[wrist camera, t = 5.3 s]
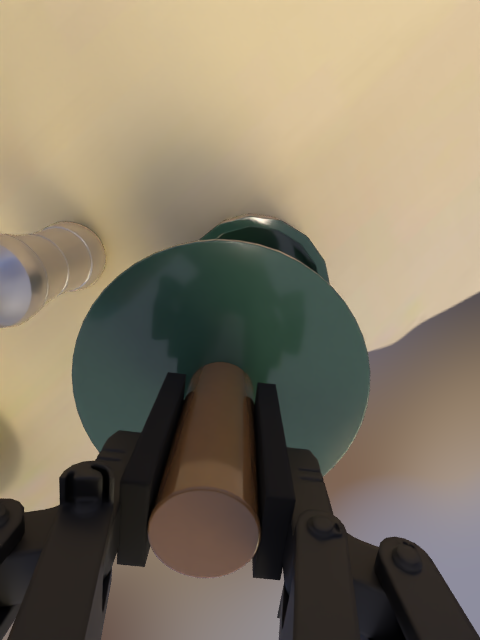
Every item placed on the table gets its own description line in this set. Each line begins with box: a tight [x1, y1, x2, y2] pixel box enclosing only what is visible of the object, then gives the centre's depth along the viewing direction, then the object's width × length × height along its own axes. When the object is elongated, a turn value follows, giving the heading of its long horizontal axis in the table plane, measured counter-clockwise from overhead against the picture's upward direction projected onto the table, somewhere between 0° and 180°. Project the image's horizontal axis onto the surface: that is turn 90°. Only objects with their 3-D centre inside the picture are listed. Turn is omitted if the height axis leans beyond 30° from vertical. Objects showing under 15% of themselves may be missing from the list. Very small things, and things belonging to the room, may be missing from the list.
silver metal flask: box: [0, 222, 106, 328], centre depth 31 cm, size 6×7×20 cm
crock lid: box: [72, 239, 370, 578], centre depth 15 cm, size 14×14×9 cm
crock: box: [200, 213, 330, 284], centre depth 37 cm, size 13×13×9 cm
